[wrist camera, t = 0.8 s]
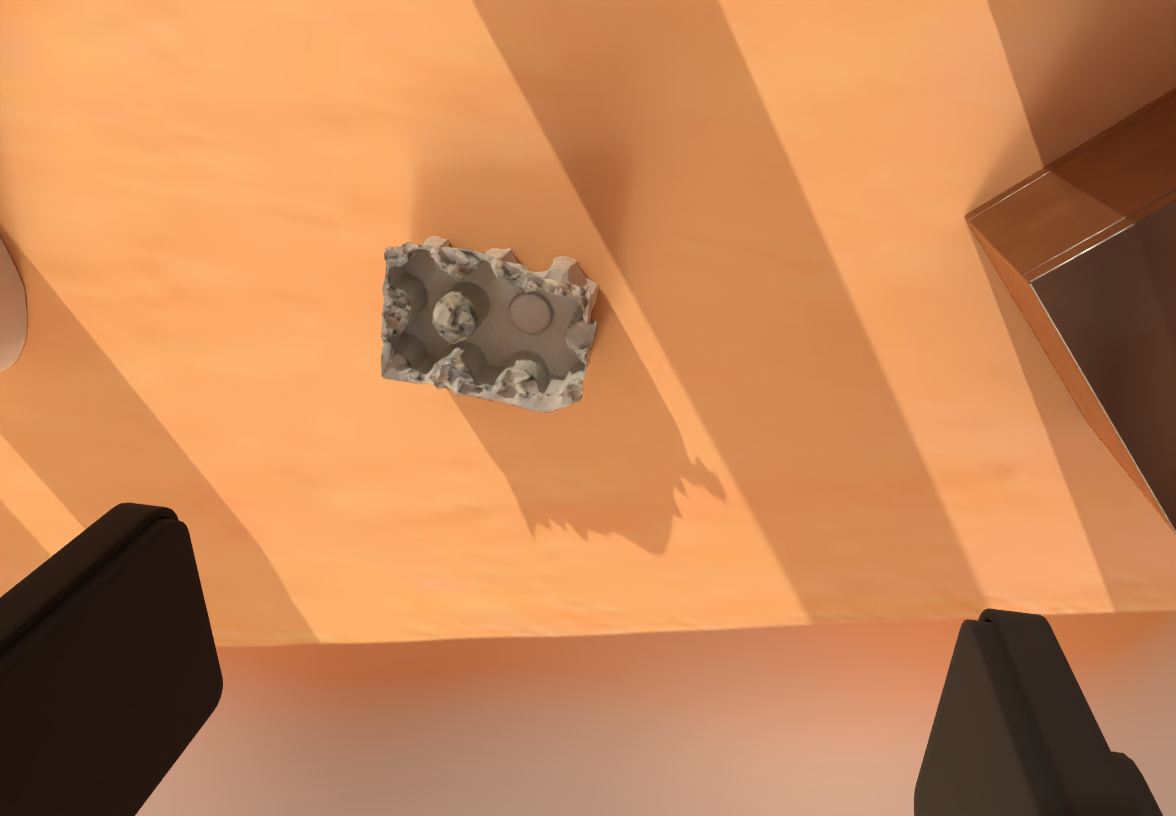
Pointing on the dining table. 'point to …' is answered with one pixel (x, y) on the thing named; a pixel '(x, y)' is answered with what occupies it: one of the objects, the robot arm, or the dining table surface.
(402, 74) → the dining table surface
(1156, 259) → the cabinet
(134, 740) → the robot arm
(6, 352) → the lumpy-topped squat cylinder
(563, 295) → the egg carton
